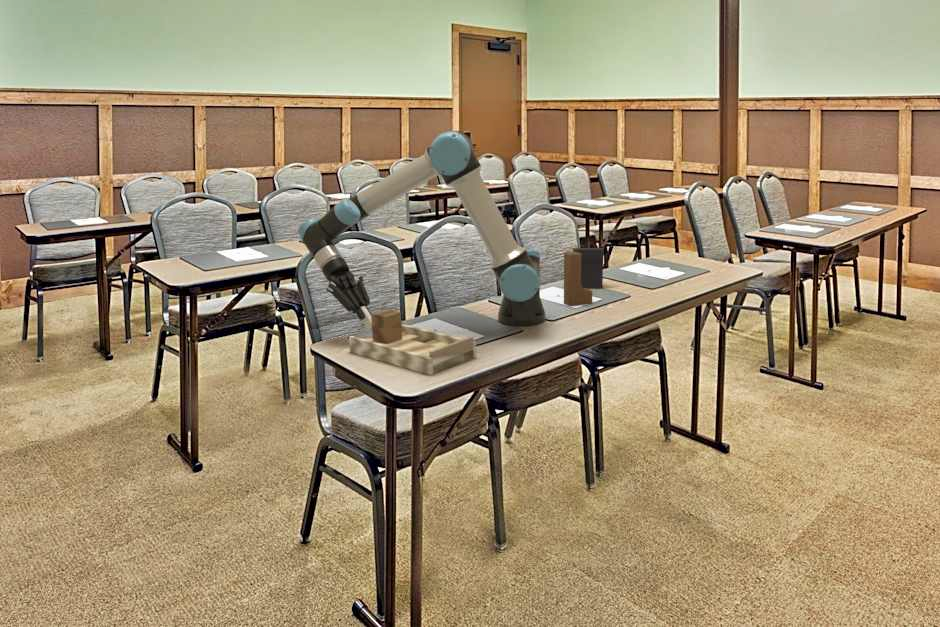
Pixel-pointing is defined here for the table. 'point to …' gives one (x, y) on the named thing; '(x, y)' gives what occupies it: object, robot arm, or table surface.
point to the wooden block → (574, 281)
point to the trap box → (418, 350)
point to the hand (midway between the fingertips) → (372, 326)
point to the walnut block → (386, 326)
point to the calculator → (591, 267)
